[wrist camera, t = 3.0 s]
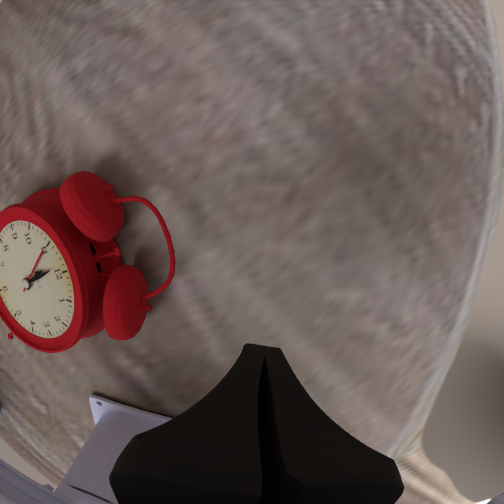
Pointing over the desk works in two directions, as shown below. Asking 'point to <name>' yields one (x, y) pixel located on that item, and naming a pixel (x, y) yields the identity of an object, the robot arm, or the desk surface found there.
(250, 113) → the desk surface
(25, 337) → the alarm clock
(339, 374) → the desk surface
